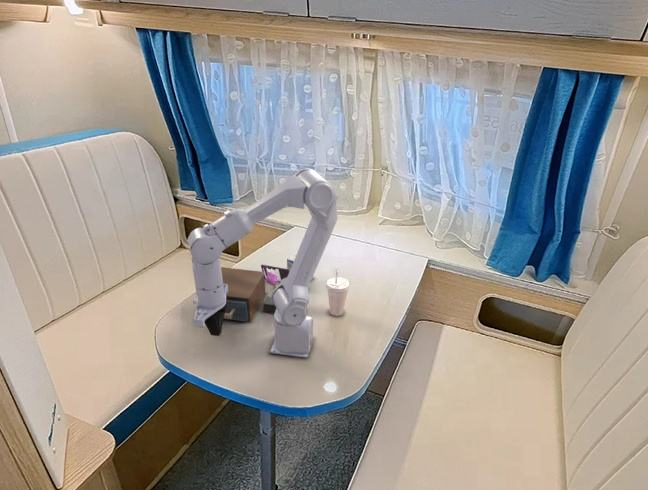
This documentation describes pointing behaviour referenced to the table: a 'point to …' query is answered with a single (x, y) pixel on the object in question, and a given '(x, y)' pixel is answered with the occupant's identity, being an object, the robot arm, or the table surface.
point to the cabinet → (245, 287)
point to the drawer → (236, 310)
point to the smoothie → (337, 294)
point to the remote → (269, 305)
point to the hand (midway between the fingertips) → (215, 333)
